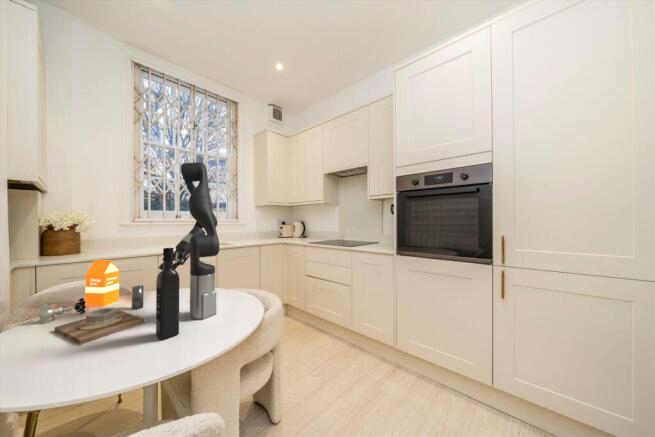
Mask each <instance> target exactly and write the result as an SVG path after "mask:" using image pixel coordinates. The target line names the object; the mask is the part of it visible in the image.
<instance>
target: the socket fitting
mask: <svg viewBox="0 0 655 437" xmlns="http://www.w3.org/2000/svg"><path fill="white" fill-rule="evenodd" d="M141 324H145V318H143V317H140V316H137V315H135V314H131V313H128V312H126V311H124V310H123V311H122V310H120V309H117V308H116V307H104V308H99V309H95V310H91V311H89V312H87V313H85V318H82V319H78V320H76V321H75V320H74V321H72V322H68V323H64V324H61V325H57V326H54V332H56V333H57V334H59V335H61V336H62V337H65V338H66V339H68V340H71V341H72V342H74V343H76V344H78V345H81V346H82V345H84V344H87V343H90V342H92V341H96V340H99V339H101V338H104V337H107V336H110V335H113V334H115V333H119V332H122V331H124V330H127V329H130V328H134V327H135V326H139V325H141Z"/></svg>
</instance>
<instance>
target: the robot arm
mask: <svg viewBox="0 0 655 437" xmlns="http://www.w3.org/2000/svg"><path fill="white" fill-rule="evenodd" d="M180 173H181V176H182V178H183V180H184V183H185V185H186V186H185V187H186V188H187V190H188V191H189V194H190V196H189V198H188V206H189V207H188V208H189V213H190V216H192V217H193V219H194V220H195V221H196V222H194V223H195V224H194V225H193V227H192V229H191V230H190V231H189V232H188V233H187V234H186V235H185V236H184V237H183V238H182V239H181V240H180V241H179V243H177V244H176V246H175V250H173V253H174V254H173V269H174V270H176V269H177V268H179V267H180V266H184V264H185V263H186V262H187V261H188V259H189V264H190V265H189V268H190V269H189V270H190V271H189V273H190V274H189V318H190V319H194V320H205V319H207V318H209V317H212V316H215V315H216V314H217V291H216V267H215V265H213V264H210V263H206V262H203V261H202V260H200V258H208V257H217V256H218V255H219V253H220V249H221V248H220V241H219V236H218V233H217V231H218V230H217V226H218V218H217V216H216V215H215V213H214V212H213V204H212V200H211V194H210V187H209V179H208V169H207V167H206V164H205V163H204V162H200V161H196V162H185V163H182V164H181V165H180ZM195 182H198V183H197V184H198V185H197V186H195V184H194V183H195ZM163 259H164V257H163V258H161V260H162V261H163ZM158 269H159V270H161V271H162V270H163V262H162V263H161V264H159V266H158Z"/></svg>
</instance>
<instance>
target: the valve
mask: <svg viewBox="0 0 655 437" xmlns="http://www.w3.org/2000/svg"><path fill="white" fill-rule="evenodd" d="M85 305H86V300H85V298H84V297H80V298H79V299H78V302H76V303H75V304H74V305H73V306H72V305H70V306H66V307H62V306H59V307H57V308H56V304H55V303H46V304H45V303H44V304H41V305H40V306H39V312H38V317H39V324H40V325H46V324H51V323H53V322H55V321H56V316H61V315H62V314H63V313H65V312H67V313H68V312H71V311H72V310H74V311H76V312H77V313H79V314H80V315H83V314H86V310H85V309H86V308H87V306H85Z"/></svg>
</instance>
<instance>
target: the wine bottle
mask: <svg viewBox="0 0 655 437" xmlns="http://www.w3.org/2000/svg"><path fill="white" fill-rule="evenodd" d="M174 249H175V248H174V247H164V248H162V256H163V258H164V259H163V258H162V259H163V260H162V263H163V270H161V271H159V272H158V275H157V276H156V280H155V281H156V284H155V286H156V287H155V288H156V290H155V291H156V294H155V297H156V299H155V302H156V303H155V337H156V338H158V339H159V340H161V341H164V340H167V339H170V338H172V337H173V338H174V337H176V336H177V335H179V334H180V280H181V279H180V275H179V273H178V271H177V270H176V269H175V270H174V269H173V264H174V261H173V254H174V253H173V252H174V251H175V250H174Z"/></svg>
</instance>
